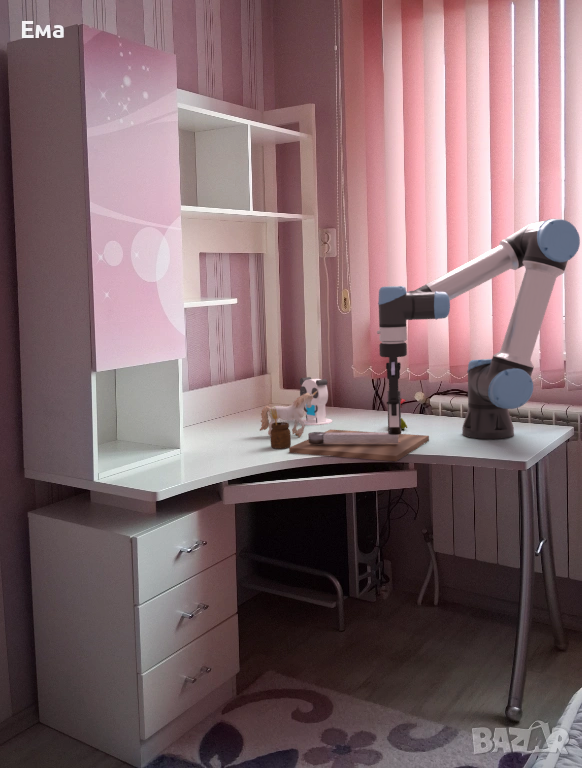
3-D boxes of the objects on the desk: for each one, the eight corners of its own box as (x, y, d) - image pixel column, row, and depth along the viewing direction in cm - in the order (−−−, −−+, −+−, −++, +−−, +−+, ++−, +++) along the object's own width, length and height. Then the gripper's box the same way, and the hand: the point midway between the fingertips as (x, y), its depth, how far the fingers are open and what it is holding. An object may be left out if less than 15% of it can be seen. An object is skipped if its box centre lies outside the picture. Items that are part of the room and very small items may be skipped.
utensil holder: (294, 445, 235) (293, 405, 233) (283, 450, 230) (281, 409, 228) (278, 444, 238) (276, 404, 237) (266, 448, 233) (264, 407, 231)
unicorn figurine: (324, 435, 248) (323, 393, 247) (262, 440, 245) (261, 397, 243) (319, 431, 255) (317, 390, 254) (259, 436, 252) (257, 394, 250)
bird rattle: (383, 434, 258) (390, 427, 250) (379, 401, 261) (386, 393, 253) (402, 433, 259) (410, 426, 251) (398, 400, 262) (405, 392, 254)
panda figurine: (291, 421, 275) (290, 378, 273) (318, 417, 281) (317, 375, 279) (311, 426, 265) (310, 381, 263) (339, 422, 271) (337, 378, 269)
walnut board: (428, 440, 236) (428, 435, 235) (396, 461, 211) (396, 455, 211) (330, 434, 250) (330, 428, 250) (289, 452, 226) (289, 446, 226)
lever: (307, 444, 226) (305, 393, 224) (309, 440, 231) (308, 390, 229) (401, 444, 222) (400, 392, 220) (401, 440, 227) (400, 389, 225)
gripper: (380, 340, 230) (381, 420, 233) (378, 345, 213) (379, 431, 216) (406, 339, 228) (407, 420, 231) (406, 344, 212) (407, 431, 215)
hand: (394, 425), depth 224 cm, fingers closed on lever, 4 cm apart
